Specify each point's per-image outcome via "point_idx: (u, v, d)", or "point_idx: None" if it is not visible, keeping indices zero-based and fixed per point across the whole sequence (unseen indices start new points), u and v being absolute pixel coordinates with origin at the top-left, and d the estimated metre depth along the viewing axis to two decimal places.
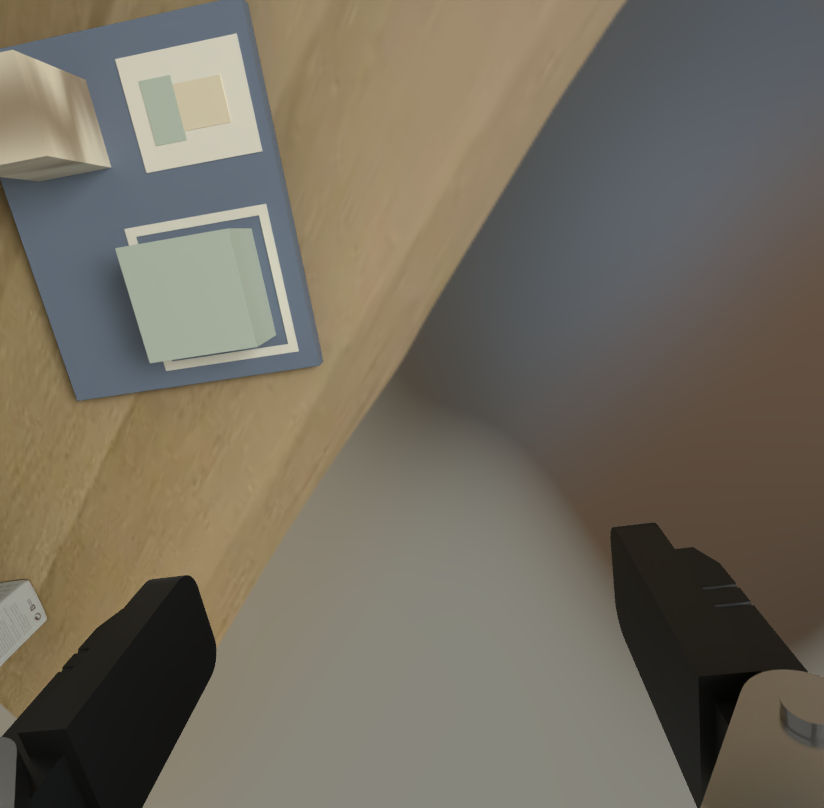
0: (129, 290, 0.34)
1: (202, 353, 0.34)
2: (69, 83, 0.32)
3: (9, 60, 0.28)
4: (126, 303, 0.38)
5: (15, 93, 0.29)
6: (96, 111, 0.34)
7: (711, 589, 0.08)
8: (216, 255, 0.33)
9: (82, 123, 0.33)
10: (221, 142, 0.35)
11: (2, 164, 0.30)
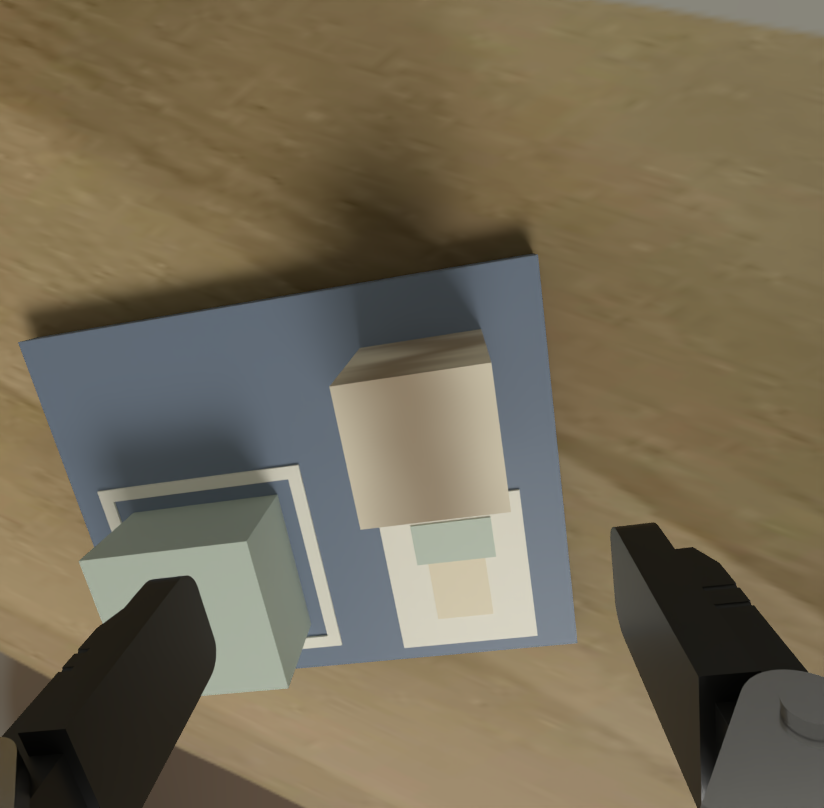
0: (185, 551, 0.22)
1: None
2: None
3: (496, 503, 0.18)
4: (190, 448, 0.25)
5: (450, 502, 0.18)
6: None
7: (711, 589, 0.08)
8: (250, 669, 0.23)
9: None
10: (414, 602, 0.26)
11: (345, 454, 0.18)
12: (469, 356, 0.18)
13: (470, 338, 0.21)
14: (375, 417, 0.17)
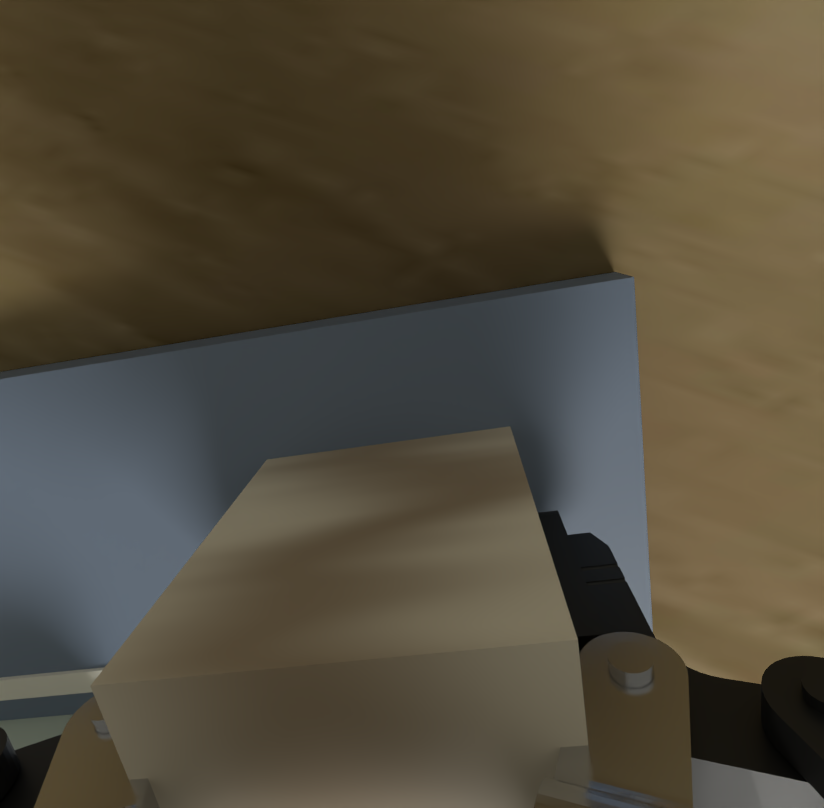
0: None
1: None
2: None
3: None
4: None
5: None
6: None
7: (595, 568, 0.09)
8: None
9: None
10: None
11: None
12: (500, 568, 0.07)
13: (492, 463, 0.09)
14: (233, 763, 0.06)
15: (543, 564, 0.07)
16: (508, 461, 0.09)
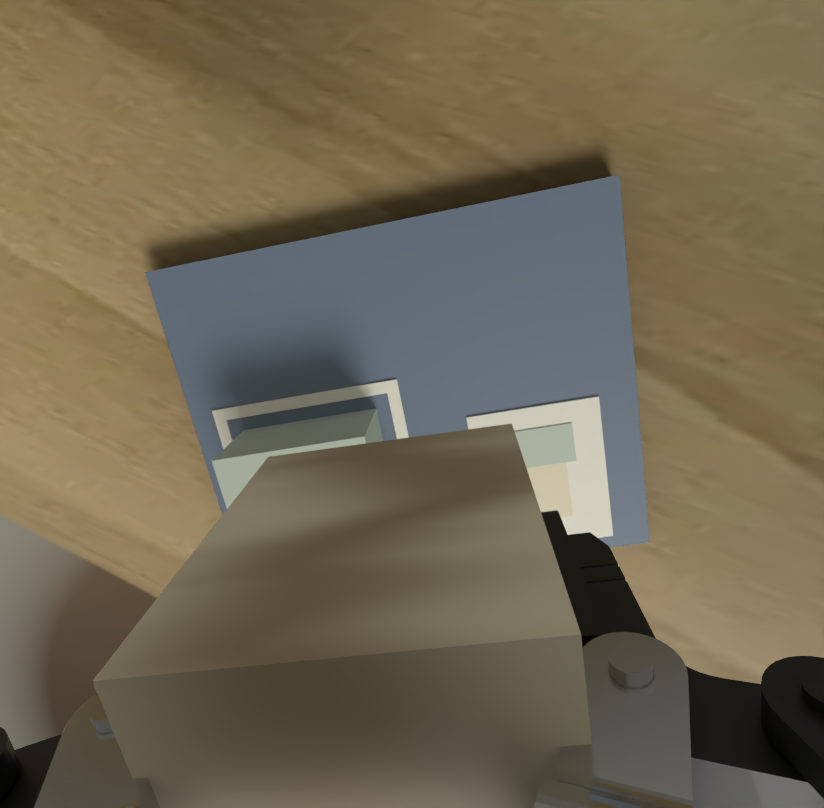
0: (309, 448, 0.24)
1: None
2: None
3: None
4: (298, 367, 0.27)
5: None
6: (541, 362, 0.27)
7: (595, 568, 0.09)
8: None
9: None
10: None
11: None
12: (503, 564, 0.07)
13: (493, 460, 0.09)
14: (235, 759, 0.06)
15: (545, 560, 0.07)
16: (510, 458, 0.09)
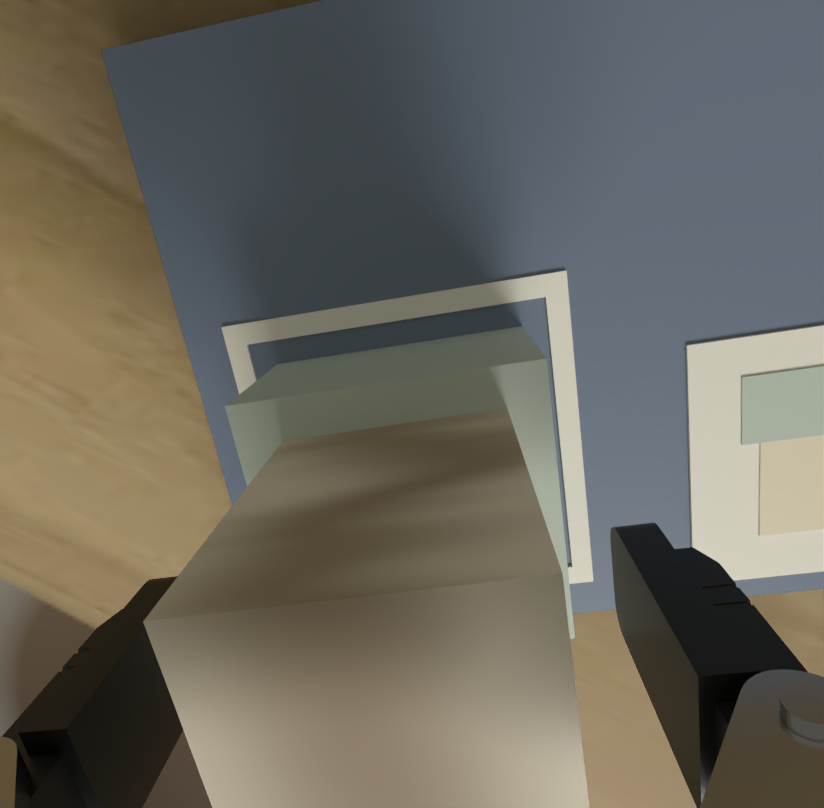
0: (428, 381, 0.12)
1: None
2: None
3: None
4: (384, 246, 0.15)
5: None
6: None
7: (711, 589, 0.08)
8: None
9: None
10: (722, 510, 0.17)
11: (200, 762, 0.08)
12: (497, 522, 0.07)
13: (490, 439, 0.10)
14: (266, 690, 0.07)
15: (534, 518, 0.07)
16: (505, 437, 0.10)
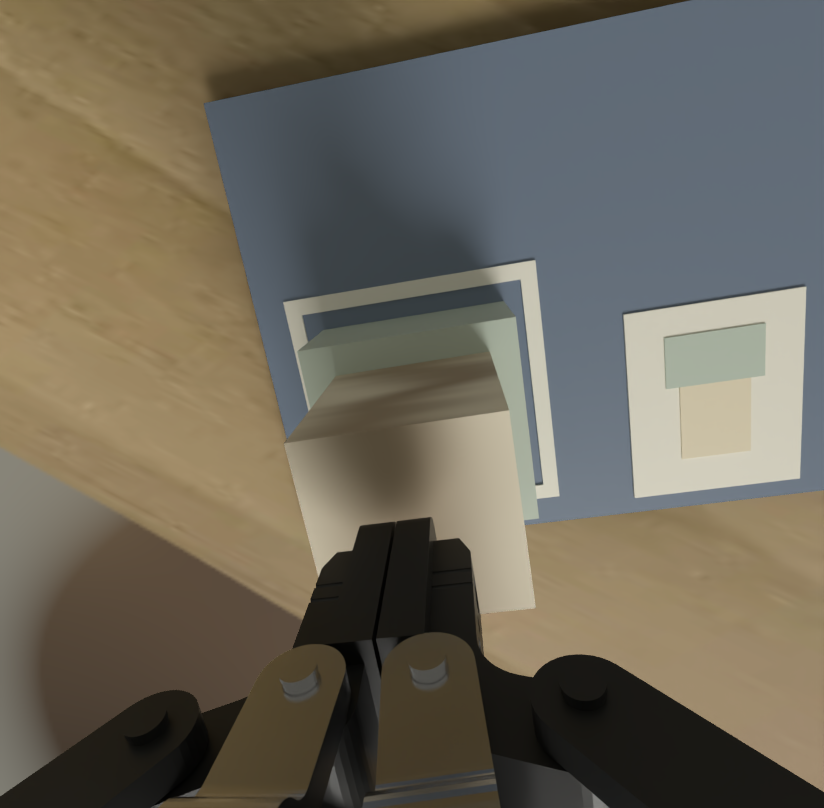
0: (436, 333, 0.18)
1: None
2: None
3: (515, 597, 0.13)
4: (403, 242, 0.21)
5: None
6: (732, 237, 0.20)
7: (450, 572, 0.10)
8: None
9: None
10: (654, 440, 0.22)
11: (308, 533, 0.13)
12: (477, 397, 0.13)
13: (476, 366, 0.16)
14: (349, 484, 0.13)
15: (498, 394, 0.13)
16: (486, 364, 0.16)
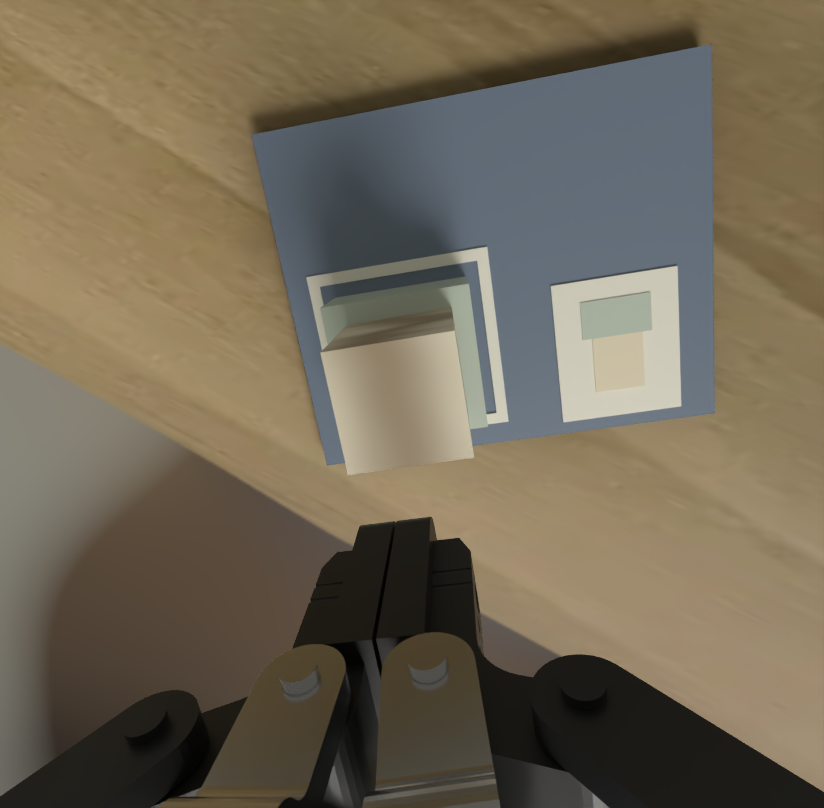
0: (415, 295, 0.26)
1: None
2: None
3: (461, 450, 0.22)
4: (393, 234, 0.29)
5: (423, 450, 0.22)
6: (625, 231, 0.28)
7: (450, 572, 0.10)
8: None
9: None
10: (576, 378, 0.31)
11: (334, 411, 0.21)
12: (438, 327, 0.21)
13: (441, 314, 0.24)
14: (359, 377, 0.21)
15: (450, 325, 0.21)
16: (447, 313, 0.24)
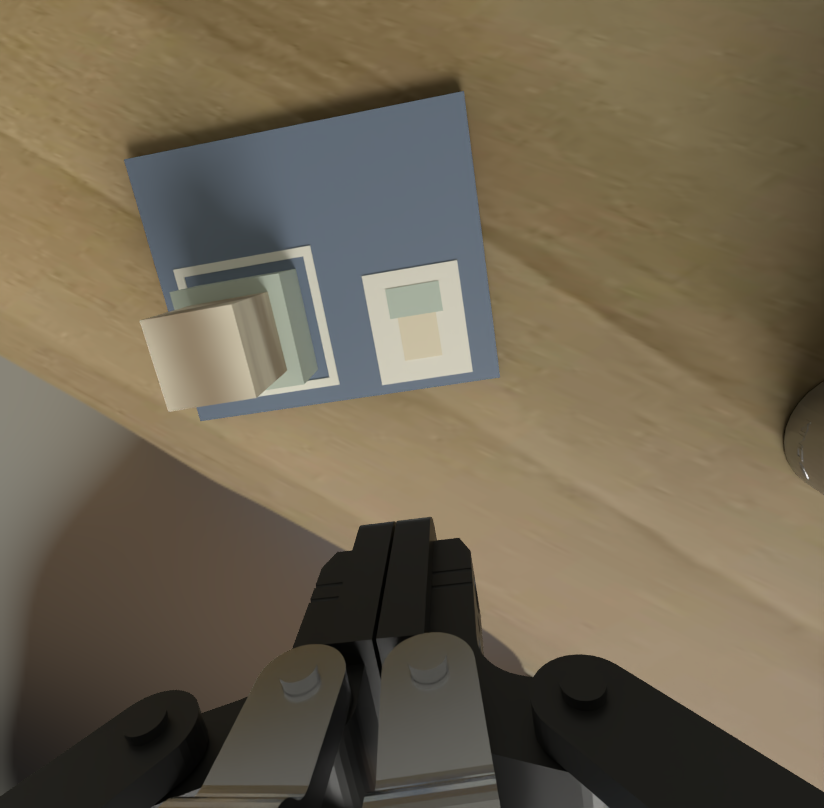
0: (239, 282, 0.34)
1: None
2: None
3: (247, 392, 0.30)
4: (237, 235, 0.37)
5: (220, 392, 0.30)
6: (414, 233, 0.36)
7: (450, 572, 0.10)
8: None
9: None
10: (389, 349, 0.39)
11: (154, 363, 0.30)
12: (229, 303, 0.30)
13: (250, 296, 0.33)
14: (169, 339, 0.29)
15: (238, 301, 0.30)
16: (255, 295, 0.32)
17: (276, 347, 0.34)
